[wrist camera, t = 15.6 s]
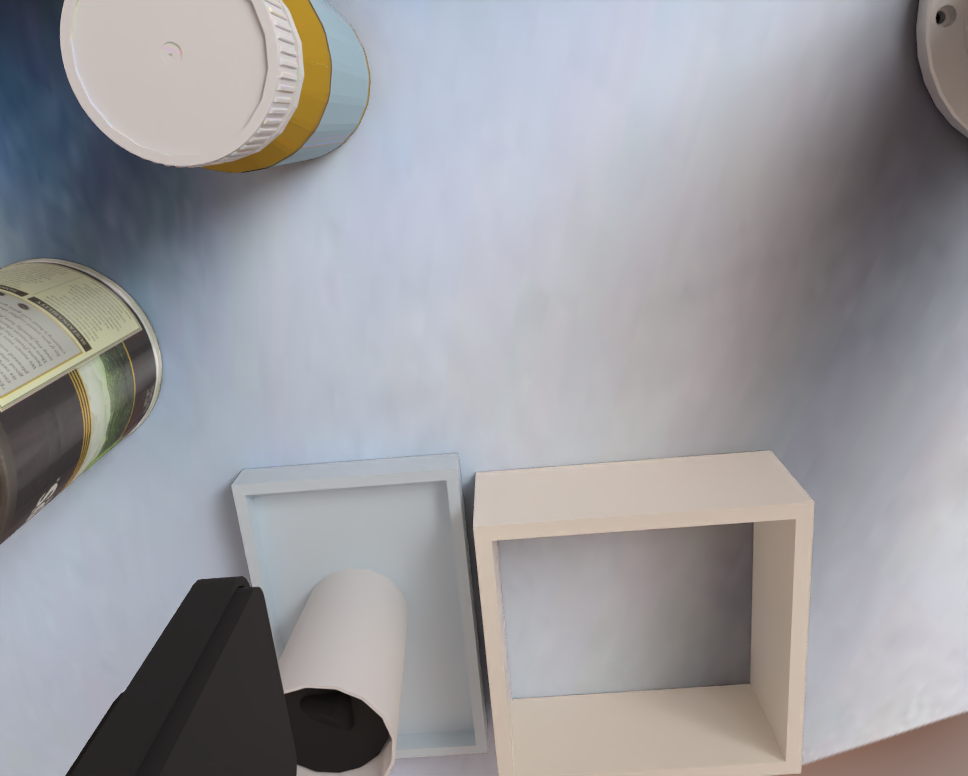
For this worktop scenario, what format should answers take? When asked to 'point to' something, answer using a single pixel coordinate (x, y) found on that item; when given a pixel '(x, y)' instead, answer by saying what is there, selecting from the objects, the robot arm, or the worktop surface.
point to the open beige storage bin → (666, 712)
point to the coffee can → (66, 378)
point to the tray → (387, 551)
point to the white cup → (346, 675)
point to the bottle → (217, 78)
